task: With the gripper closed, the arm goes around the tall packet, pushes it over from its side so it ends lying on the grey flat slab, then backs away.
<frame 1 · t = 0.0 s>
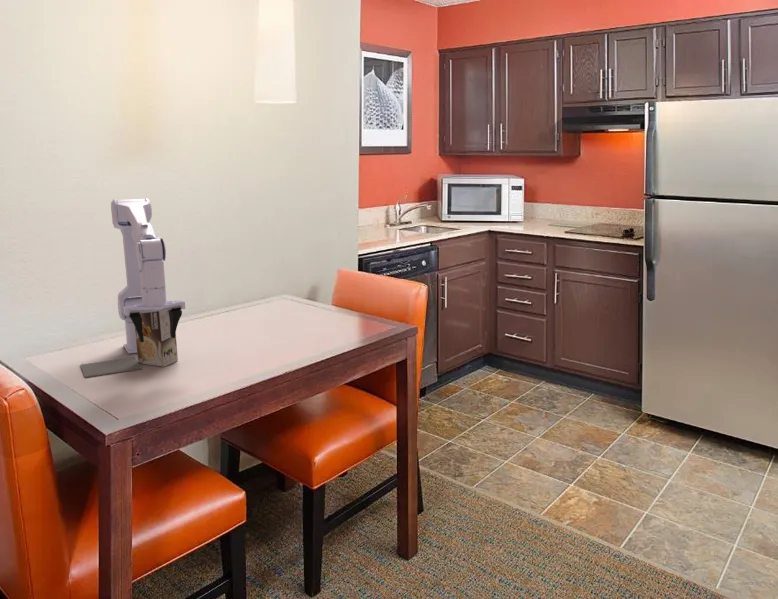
hand: (157, 339, 174), 10 cm above the table, fingers open, 7 cm apart
grey flat slab: (111, 367, 183), on the table
coffee box: (158, 362, 188), on the table
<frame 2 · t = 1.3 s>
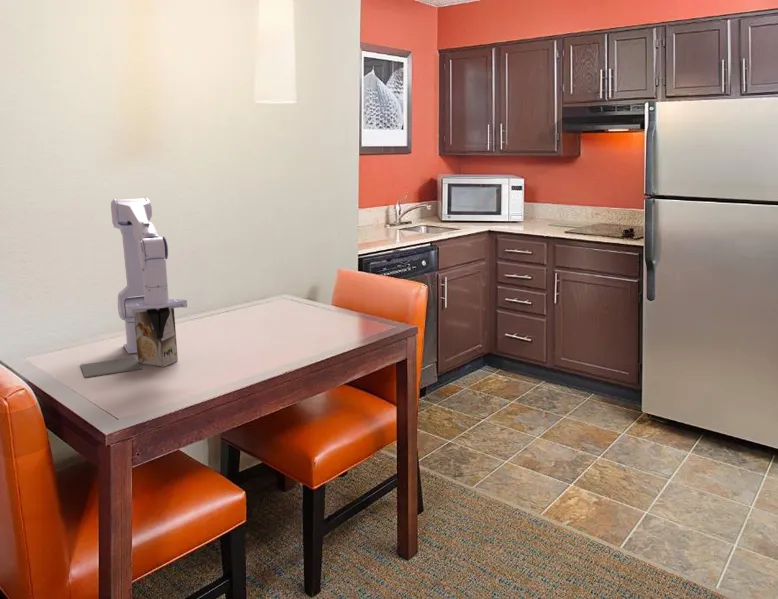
hand: (159, 337, 174), 10 cm above the table, fingers closed
nothing on the table moved.
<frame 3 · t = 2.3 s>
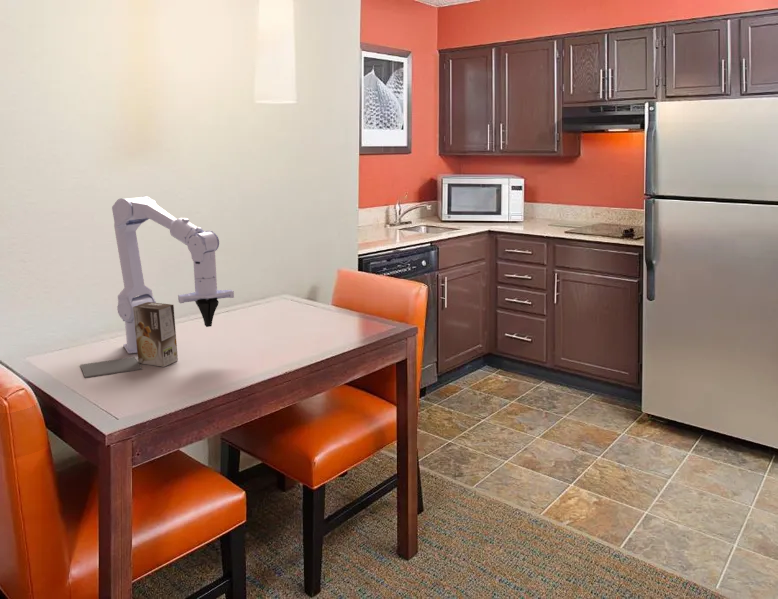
hand: (208, 325, 186), 10 cm above the table, fingers closed
nothing on the table moved.
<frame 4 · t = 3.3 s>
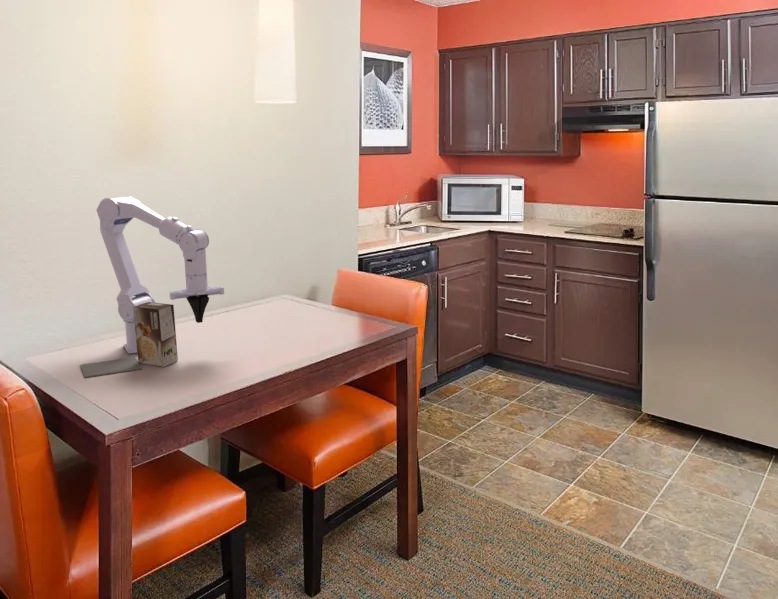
hand: (199, 321, 191), 10 cm above the table, fingers closed
nothing on the table moved.
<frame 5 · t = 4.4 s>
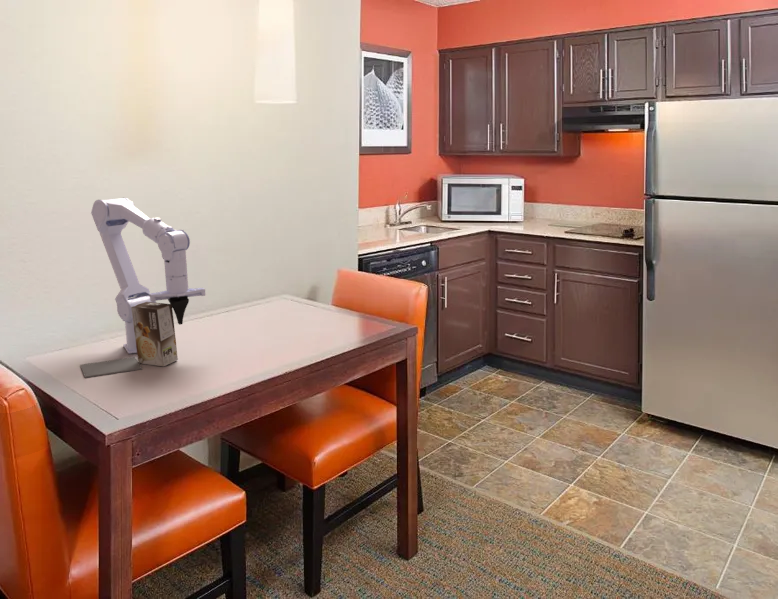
hand: (180, 323, 189), 10 cm above the table, fingers closed
coffee box: (158, 362, 188), on the table, touching gripper
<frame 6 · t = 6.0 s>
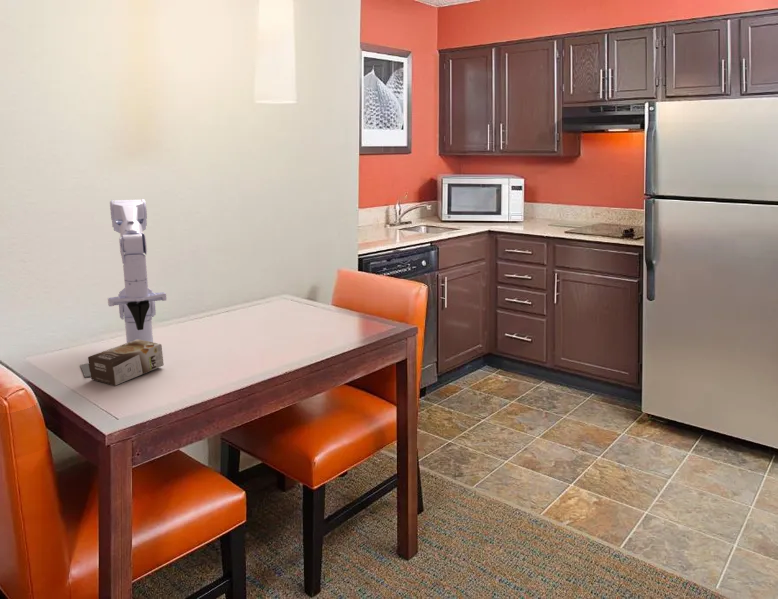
hand: (140, 329, 184), 10 cm above the table, fingers closed
coffee box: (151, 351, 184), point 4 cm above the table, touching grey flat slab
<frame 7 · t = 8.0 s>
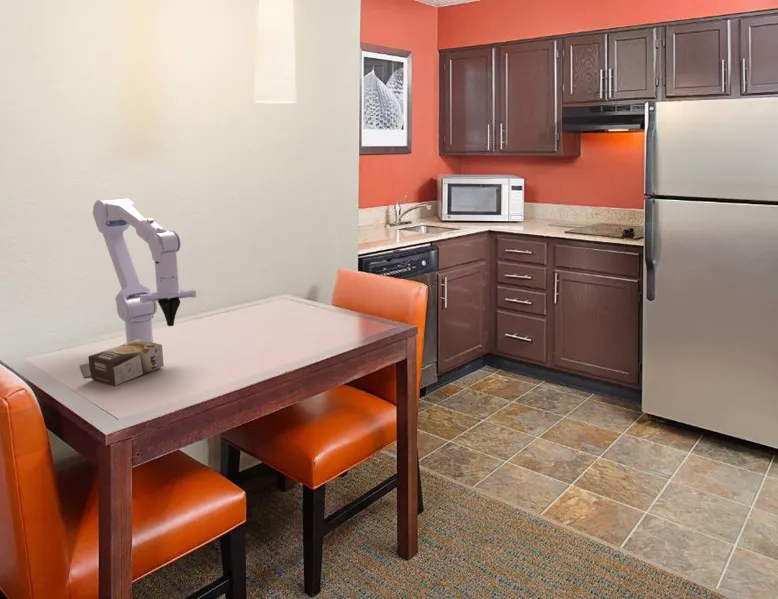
hand: (170, 325, 188), 10 cm above the table, fingers closed
nothing on the table moved.
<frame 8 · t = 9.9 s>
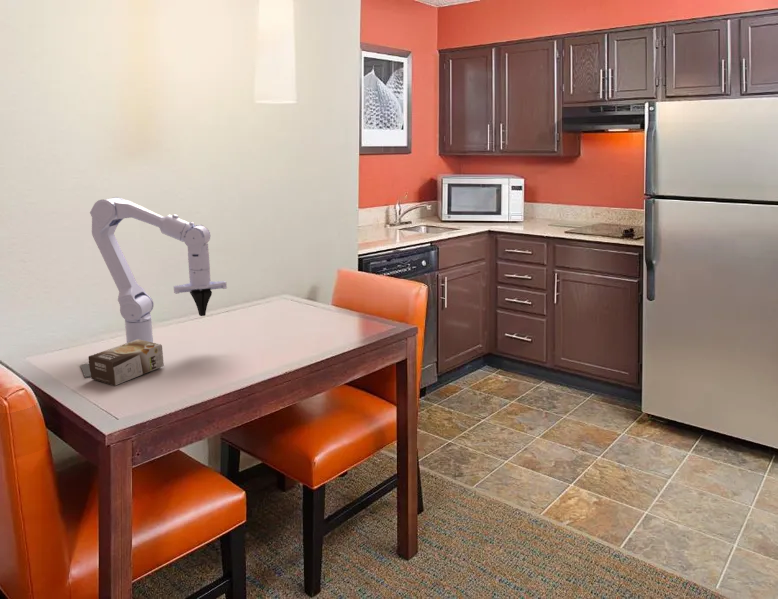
hand: (202, 315, 197), 10 cm above the table, fingers closed
nothing on the table moved.
at the end: coffee box tilted 92°; coffee box touching grey flat slab, table; coffee box inside the target area (9.6 cm from its centre), point 3.7 cm above the table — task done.
